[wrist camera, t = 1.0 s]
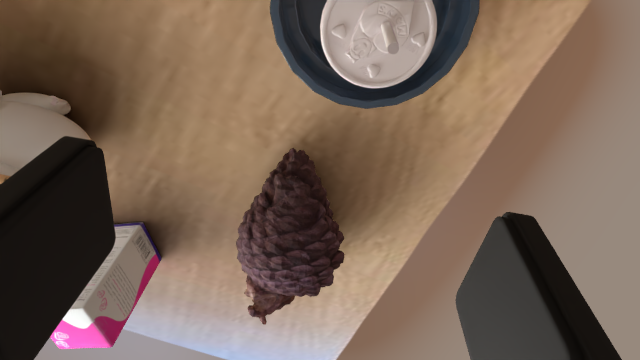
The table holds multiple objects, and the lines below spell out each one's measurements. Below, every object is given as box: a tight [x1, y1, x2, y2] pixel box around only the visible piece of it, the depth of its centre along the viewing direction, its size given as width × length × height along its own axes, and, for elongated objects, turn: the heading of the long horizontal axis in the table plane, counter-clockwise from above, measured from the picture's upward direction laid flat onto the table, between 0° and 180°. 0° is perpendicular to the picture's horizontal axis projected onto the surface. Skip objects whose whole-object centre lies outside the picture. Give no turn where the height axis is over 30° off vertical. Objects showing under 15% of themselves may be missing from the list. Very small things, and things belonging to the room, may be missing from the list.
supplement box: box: [50, 222, 161, 349], centre depth 41 cm, size 6×6×12 cm
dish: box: [270, 0, 480, 109], centre depth 29 cm, size 14×14×4 cm
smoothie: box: [320, 0, 437, 88], centre depth 24 cm, size 6×6×14 cm
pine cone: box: [236, 148, 344, 324], centre depth 38 cm, size 18×10×10 cm
